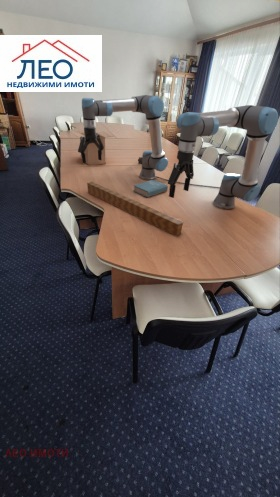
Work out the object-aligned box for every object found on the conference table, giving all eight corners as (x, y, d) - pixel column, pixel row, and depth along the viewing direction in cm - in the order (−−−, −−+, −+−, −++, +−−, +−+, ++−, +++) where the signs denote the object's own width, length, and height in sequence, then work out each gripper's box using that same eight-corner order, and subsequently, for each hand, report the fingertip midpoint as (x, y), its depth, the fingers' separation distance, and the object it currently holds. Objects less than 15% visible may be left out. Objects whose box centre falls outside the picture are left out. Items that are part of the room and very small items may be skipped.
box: (116, 165, 229) (116, 136, 213) (83, 168, 214) (80, 137, 198) (102, 154, 259) (101, 128, 243) (71, 156, 244) (68, 129, 228)
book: (152, 185, 190) (153, 179, 187) (167, 191, 181) (167, 185, 178) (133, 191, 176) (133, 185, 173) (147, 198, 167) (148, 191, 164)
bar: (87, 192, 169) (87, 182, 165) (92, 191, 172) (92, 181, 167) (176, 236, 127) (178, 224, 122) (180, 233, 130) (183, 222, 125)
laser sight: (157, 166, 235) (158, 156, 229) (137, 164, 238) (137, 154, 232) (158, 164, 242) (159, 154, 236) (138, 161, 245) (139, 152, 239)
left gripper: (76, 129, 132) (80, 166, 144) (108, 126, 147) (109, 159, 160) (69, 127, 136) (73, 163, 148) (101, 124, 151) (102, 157, 164)
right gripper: (177, 156, 94) (170, 202, 107) (205, 148, 110) (197, 189, 122) (163, 153, 98) (158, 197, 111) (192, 145, 113) (185, 185, 126)
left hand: (92, 161), depth 154 cm, fingers open, 13 cm apart
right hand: (178, 193), depth 117 cm, fingers open, 13 cm apart
